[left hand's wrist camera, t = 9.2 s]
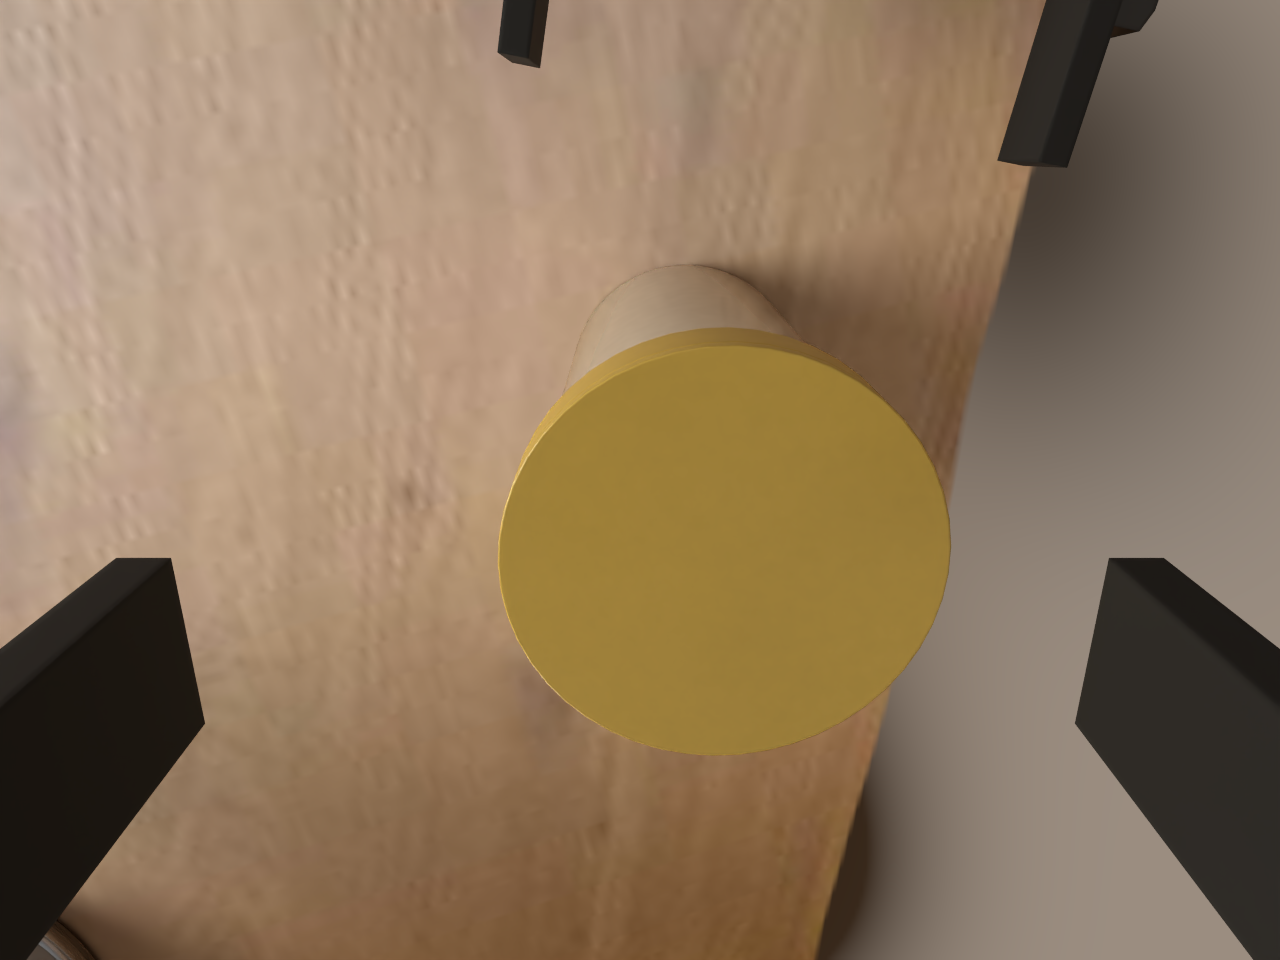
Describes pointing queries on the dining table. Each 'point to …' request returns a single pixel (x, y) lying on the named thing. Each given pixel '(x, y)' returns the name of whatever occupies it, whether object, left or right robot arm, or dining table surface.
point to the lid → (722, 543)
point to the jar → (671, 312)
